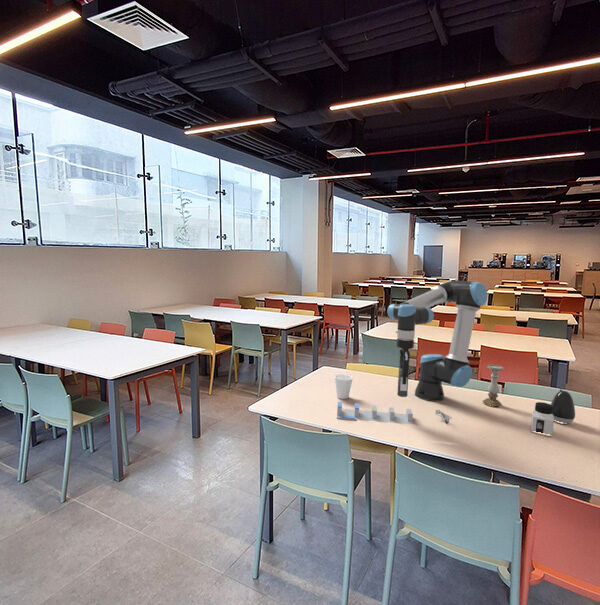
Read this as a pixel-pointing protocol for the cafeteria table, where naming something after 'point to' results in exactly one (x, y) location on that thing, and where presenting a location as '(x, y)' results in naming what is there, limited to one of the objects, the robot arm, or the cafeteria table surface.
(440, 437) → the cafeteria table surface
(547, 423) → the container
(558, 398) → the black egg shaped speaker
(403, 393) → the dark grey tall block
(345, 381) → the cup
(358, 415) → the grey slotted rack
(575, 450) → the cafeteria table surface
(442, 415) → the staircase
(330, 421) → the cafeteria table surface
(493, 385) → the candle holder
